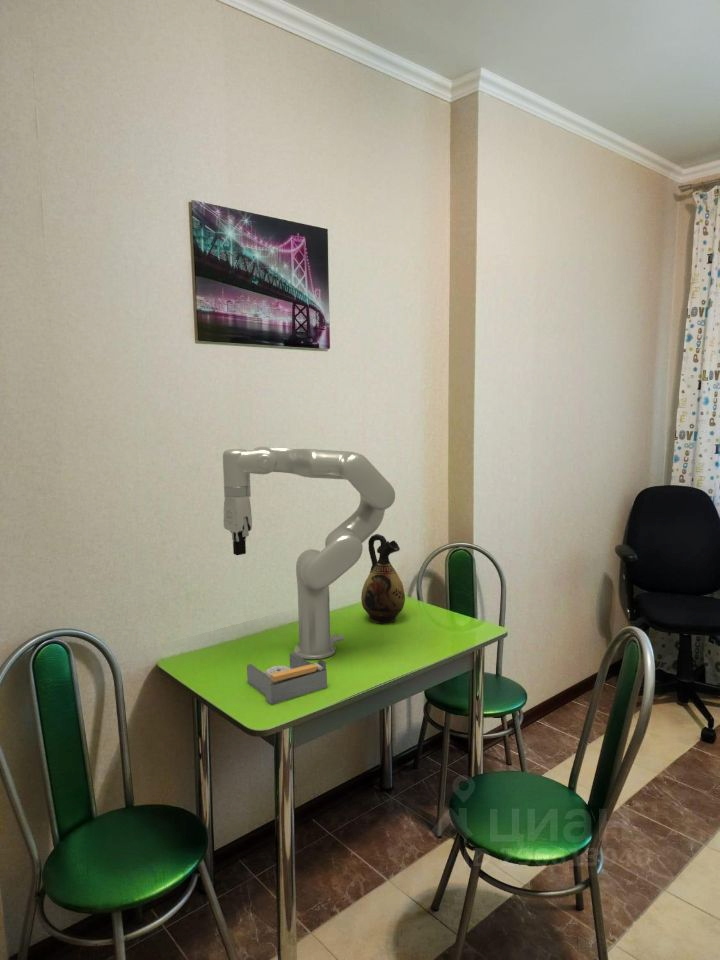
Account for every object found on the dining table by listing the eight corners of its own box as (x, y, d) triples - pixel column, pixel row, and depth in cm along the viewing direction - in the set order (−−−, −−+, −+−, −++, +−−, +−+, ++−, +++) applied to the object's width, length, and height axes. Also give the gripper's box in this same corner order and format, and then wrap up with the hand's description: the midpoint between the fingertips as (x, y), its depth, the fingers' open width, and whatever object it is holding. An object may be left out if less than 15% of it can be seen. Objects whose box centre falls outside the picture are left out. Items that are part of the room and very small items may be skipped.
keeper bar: (316, 666, 172) (316, 662, 172) (322, 670, 170) (322, 665, 170) (269, 678, 164) (269, 673, 164) (275, 682, 161) (275, 677, 161)
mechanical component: (300, 691, 170) (294, 676, 179) (300, 675, 169) (293, 661, 179) (262, 696, 167) (258, 680, 177) (262, 680, 166) (257, 665, 176)
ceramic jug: (413, 617, 227) (413, 534, 224) (388, 629, 215) (387, 542, 211) (375, 609, 237) (374, 529, 234) (349, 620, 225) (347, 536, 222)
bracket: (296, 668, 184) (296, 645, 183) (327, 687, 171) (326, 663, 170) (243, 683, 174) (242, 659, 173) (271, 705, 161) (270, 679, 161)
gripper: (214, 490, 189) (217, 551, 191) (236, 495, 177) (238, 560, 179) (238, 488, 194) (240, 548, 196) (260, 493, 182) (263, 556, 184)
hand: (239, 554), depth 187 cm, fingers closed
